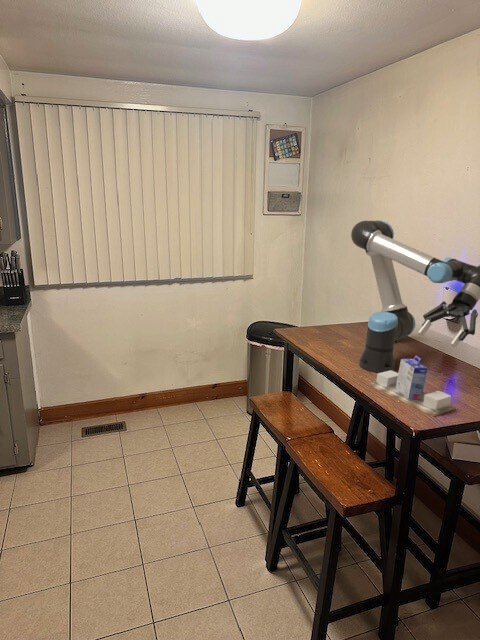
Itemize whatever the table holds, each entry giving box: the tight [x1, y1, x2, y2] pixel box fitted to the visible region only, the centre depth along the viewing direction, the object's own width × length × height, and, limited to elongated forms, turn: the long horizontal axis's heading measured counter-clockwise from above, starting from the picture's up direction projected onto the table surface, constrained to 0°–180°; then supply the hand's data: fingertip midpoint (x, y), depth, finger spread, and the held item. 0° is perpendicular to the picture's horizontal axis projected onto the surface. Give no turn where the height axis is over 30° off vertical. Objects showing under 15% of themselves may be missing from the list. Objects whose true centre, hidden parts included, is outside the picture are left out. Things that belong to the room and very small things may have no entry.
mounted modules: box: [375, 370, 452, 410], centre depth 162 cm, size 26×8×4 cm, turn 32°
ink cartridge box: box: [396, 354, 428, 399], centre depth 159 cm, size 10×6×14 cm, turn 9°
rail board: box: [369, 379, 456, 417], centre depth 163 cm, size 28×12×2 cm, turn 32°
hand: (435, 340), depth 162 cm, fingers open, 13 cm apart
